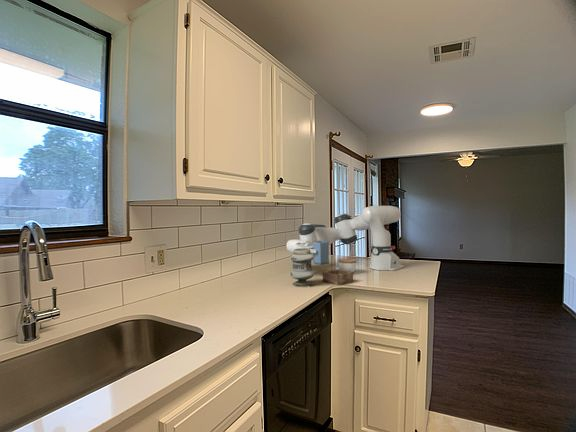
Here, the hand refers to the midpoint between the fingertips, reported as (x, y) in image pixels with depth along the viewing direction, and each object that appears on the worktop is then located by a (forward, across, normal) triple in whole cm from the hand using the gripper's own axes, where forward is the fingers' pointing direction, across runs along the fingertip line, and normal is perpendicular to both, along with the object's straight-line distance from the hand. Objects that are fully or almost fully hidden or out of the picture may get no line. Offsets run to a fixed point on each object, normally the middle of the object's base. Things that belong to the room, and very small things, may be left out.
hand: (321, 250), depth 180 cm
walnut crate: (+12, 0, -15) cm, 19 cm away
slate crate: (-1, 0, -7) cm, 7 cm away
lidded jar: (0, -20, -15) cm, 25 cm away
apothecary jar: (+5, +18, -15) cm, 24 cm away
